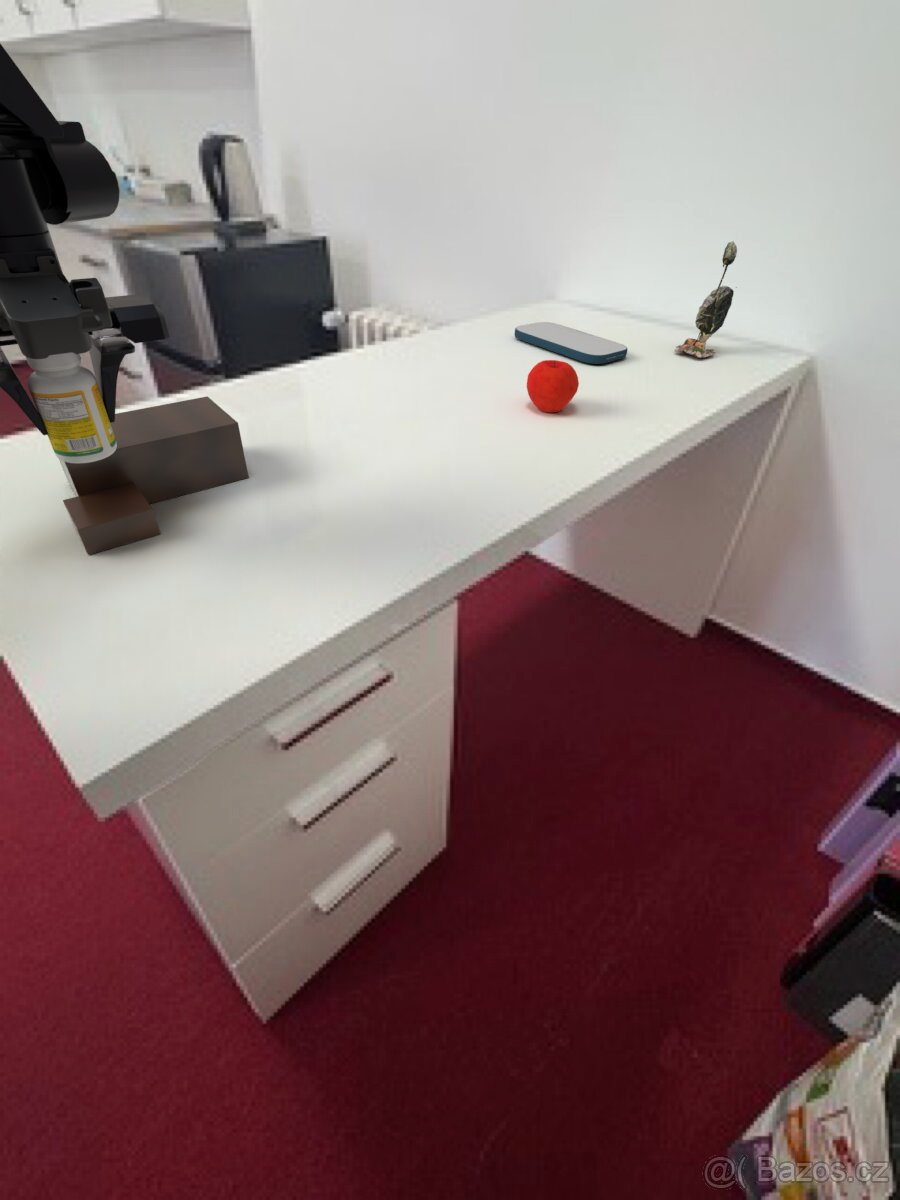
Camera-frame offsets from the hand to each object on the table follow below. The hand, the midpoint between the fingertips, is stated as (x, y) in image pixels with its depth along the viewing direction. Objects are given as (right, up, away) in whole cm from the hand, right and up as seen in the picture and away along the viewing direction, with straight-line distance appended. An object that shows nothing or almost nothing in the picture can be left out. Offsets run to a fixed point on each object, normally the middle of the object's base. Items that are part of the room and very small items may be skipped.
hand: (78, 427), depth 55 cm
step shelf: (+1, -4, +14) cm, 14 cm away
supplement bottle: (0, -2, +2) cm, 3 cm away
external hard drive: (+59, +35, +65) cm, 94 cm away
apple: (+50, +14, +39) cm, 65 cm away
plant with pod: (+85, +34, +66) cm, 113 cm away
